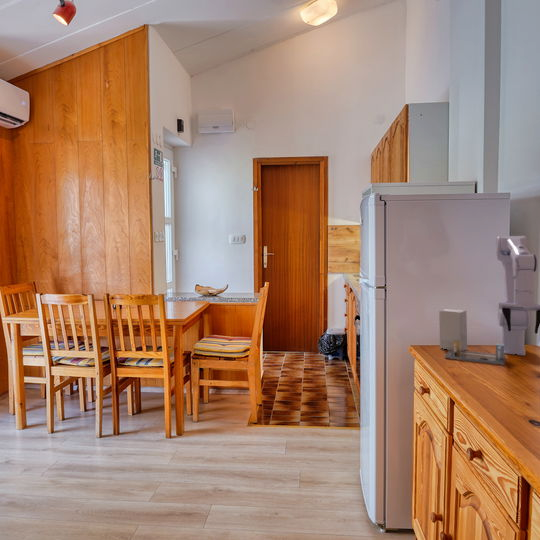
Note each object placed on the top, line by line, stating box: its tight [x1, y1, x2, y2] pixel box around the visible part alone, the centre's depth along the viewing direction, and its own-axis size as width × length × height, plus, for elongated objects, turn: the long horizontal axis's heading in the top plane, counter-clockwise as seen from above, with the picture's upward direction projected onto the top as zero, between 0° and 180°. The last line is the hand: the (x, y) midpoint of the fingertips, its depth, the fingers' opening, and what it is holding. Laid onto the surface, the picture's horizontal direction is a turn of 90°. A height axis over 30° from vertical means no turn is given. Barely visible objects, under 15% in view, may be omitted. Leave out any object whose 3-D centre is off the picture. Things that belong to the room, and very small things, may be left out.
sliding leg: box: [495, 342, 505, 359], centre depth 154 cm, size 7×2×4 cm, turn 151°
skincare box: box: [438, 308, 468, 351], centre depth 171 cm, size 8×6×15 cm
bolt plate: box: [444, 340, 506, 366], centre depth 158 cm, size 11×18×5 cm, turn 60°
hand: (522, 331), depth 151 cm, fingers open, 7 cm apart
